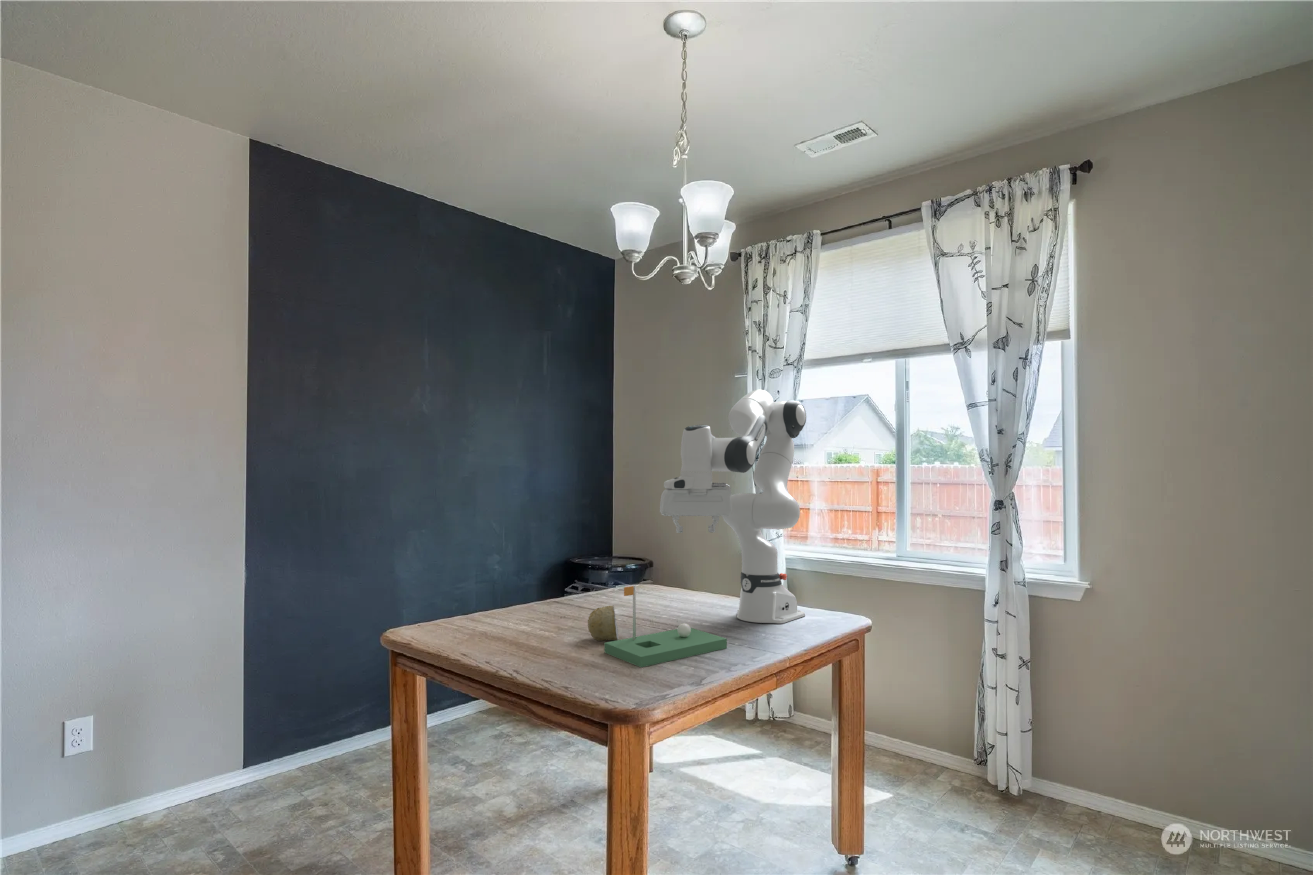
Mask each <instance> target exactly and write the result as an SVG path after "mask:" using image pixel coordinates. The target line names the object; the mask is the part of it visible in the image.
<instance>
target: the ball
mask: <svg viewBox="0 0 1313 875" xmlns="http://www.w3.org/2000/svg"><path fill="white" fill-rule="evenodd" d="M691 628H692V627H691V626H690V624H688V623H686V622H685V623H681V624H679V625H678V626H677V628H676V629H677V631H678V634H679V635H680V636H681V637H687V636H689V635H690V633H691Z"/></svg>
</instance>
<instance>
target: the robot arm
mask: <svg viewBox="0 0 1313 875" xmlns="http://www.w3.org/2000/svg"><path fill="white" fill-rule="evenodd" d="M806 412H807V411H806V409H805V406H804V405H803V404H802V403H801V402H800V401H798V400H792V399H789V400H787V401H786V400H783V401H782V400H779V401H778V400H777V401H774V398H773V397H772V395H771V394H770V393H769V392H768V391H766V390H765V389H753V390H751V391H750V392H748V393H746V394H745V395H743V396H742V397H741V398H740V399H739V400H738V401H737V402H736V403H735V404H734V405H733V406H732V407H731V409H730V411H729V412H728V424H729V426H730V428H731V429H732V431H733V432H734V433H735V434H736V435H738V436H735V437H716V436H714V435H713V434H712V431H711V426H709V425H707V424H695V425H690V426H689V425H687V427H685V428H684V429H683V432H682V435H681V444H680V459H681V468H680V476H678V477H674V478H671V479H668V480H665V481H664V482H663V488H664V490H663V491H662V493H661V494H660V495H661V496H660V499H659V500H660V501H659V513H660V515H661V516H664V517H671V518H672V519H671V520H672V521H673V524H674V526H675V533H676V534H682V533H683V532H684V530H683V529H684V526H683V525H680V523H679V520H680V517H706V516H707V517H711V520H712V523H711V524H710V525H707V527H708V531H707V532H708V533H716V526H717V525H718V523H719V521H720V517H722V520H723V522H724V523H725V524H727V526H729V527H730V528H731V529H732V531H733V533H735V536H736V538H737V540H738V542H739V546H740V552H741V572H740V585H741V589H740V595H739V603H738V604H739V605H738V609H737V612H736V613H737V614H736V619H739V620H741V621H743V622H749V623H759V624H760V623H761V624H762V623H763V624H785V623H787V622H790V621H793V620H798V619H800V618H803V617H806V613H805V611H802V610H799V609H798V602H797V598H796V596H795V595H794V594H793V593H792V592H790V590H789V589H787V588H786V587H785V586H784V585H783V583H782V580H783V581H786V580H787V579H788V575H787V574H786V573H782V572H781V573H779V572H778V550H777V547H776V545H775V544H773V542H771V541H769V540H768V539H766V538H765V536H764V534H763V533H762V530H763V529H764V530H786V529H791V528H793V527H795V526H796V525H797V523H798V522H799V519H800V516H801V512H800V511H801V510H800V506H799V503H798V501H797V500H796V499H795V497H793V496H792V495H791V494H790V492H789V491H788V481H789V476H790V472H791V469H792V465H793V462H794V455H795V442H794V440H793V439H796V438H798V437H799V435H800V433H801V431H803V429H804V427H805V425H806V421H807V413H806ZM765 438H766V440H765V442H764V439H765ZM763 442H764V445H763V446H762V444H763ZM761 446H762V449H761V451H760V453H759V452H758V451H759V450H760V448H761ZM758 453H759V456H758V460H757V462H756V459H757V454H758ZM755 462H756V465H755ZM754 465H755V467H754ZM752 467H754V471H753V476H752V478H753V482H754V484H755V485H756V487H758V488H759V489H760V490H762V492H761V493H753V492H752V493H751V492H750V493H749V492H746V493H745V492H739V493H734V494H732V487H731V486H730V485H729V484H727V483H725V482H721V483H720V482H713V472H733V473H743V474H744V473H746V472H749V471H750V469H751V468H752Z"/></svg>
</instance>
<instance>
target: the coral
mask: <svg viewBox="0 0 1313 875" xmlns="http://www.w3.org/2000/svg"><path fill="white" fill-rule="evenodd" d="M615 612H616V611H615V605H607V606H603V607H597V608H595V609H593V610H592V611H591V612H590V615H589V616H588V619H587V628H588V632H589V634H590V635H591V637H592V639H594V641H598V642H602V641H603V642H604V641H616V640H619V629H618V628H619V627H618V622H617V617H616V613H615Z"/></svg>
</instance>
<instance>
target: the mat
mask: <svg viewBox="0 0 1313 875" xmlns="http://www.w3.org/2000/svg"><path fill="white" fill-rule="evenodd" d="M627 596H629V597H630V596H632V637H629V638H623V639H618V640H610V641H607V642H604V643H603V644H604V653H605V654H608V655H609V656H612V657H614V658H617V659H619V660H622V661H624V662H627V663H629V664H632V665H634V666H636V667H639V668H645V667H649V666H654V665H659V664H663V663H666V662H667V663H669V662H670V661H676V660H681V659H685V658H688V657H694V656H699V655H703V654H707V653H711V652H716V651H720V650H725V649H727V648H728V638H726V637H723V636H719V635H715V634H714V633H713V634H712V633H710V632H705V631H703V630H699V629H697V628H692V627H690V628H691V633H690V635H689V636H687V637H681V636H680V635H679V634H678V631H677V629H678V628H675V629H671V630H663V631H659V632H654V633H650V634H648V633H647V634H643V635H639V636H637V635H636V634H637V586H636V585H631V586H625V587H623V597H627Z"/></svg>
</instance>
